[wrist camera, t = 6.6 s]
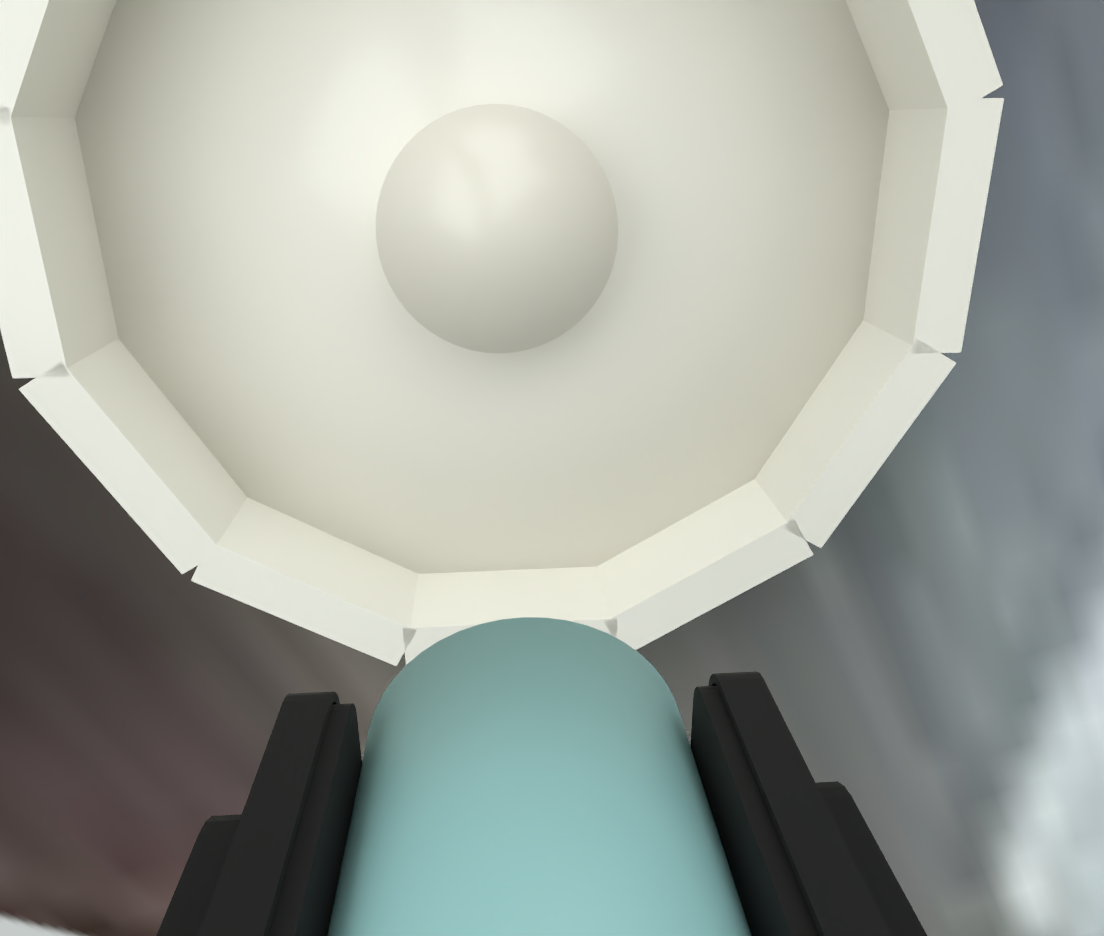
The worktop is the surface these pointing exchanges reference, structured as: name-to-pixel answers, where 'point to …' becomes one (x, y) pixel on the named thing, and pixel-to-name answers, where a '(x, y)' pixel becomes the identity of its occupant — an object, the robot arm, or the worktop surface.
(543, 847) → the teal bead
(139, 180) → the groove tray
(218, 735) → the worktop surface
